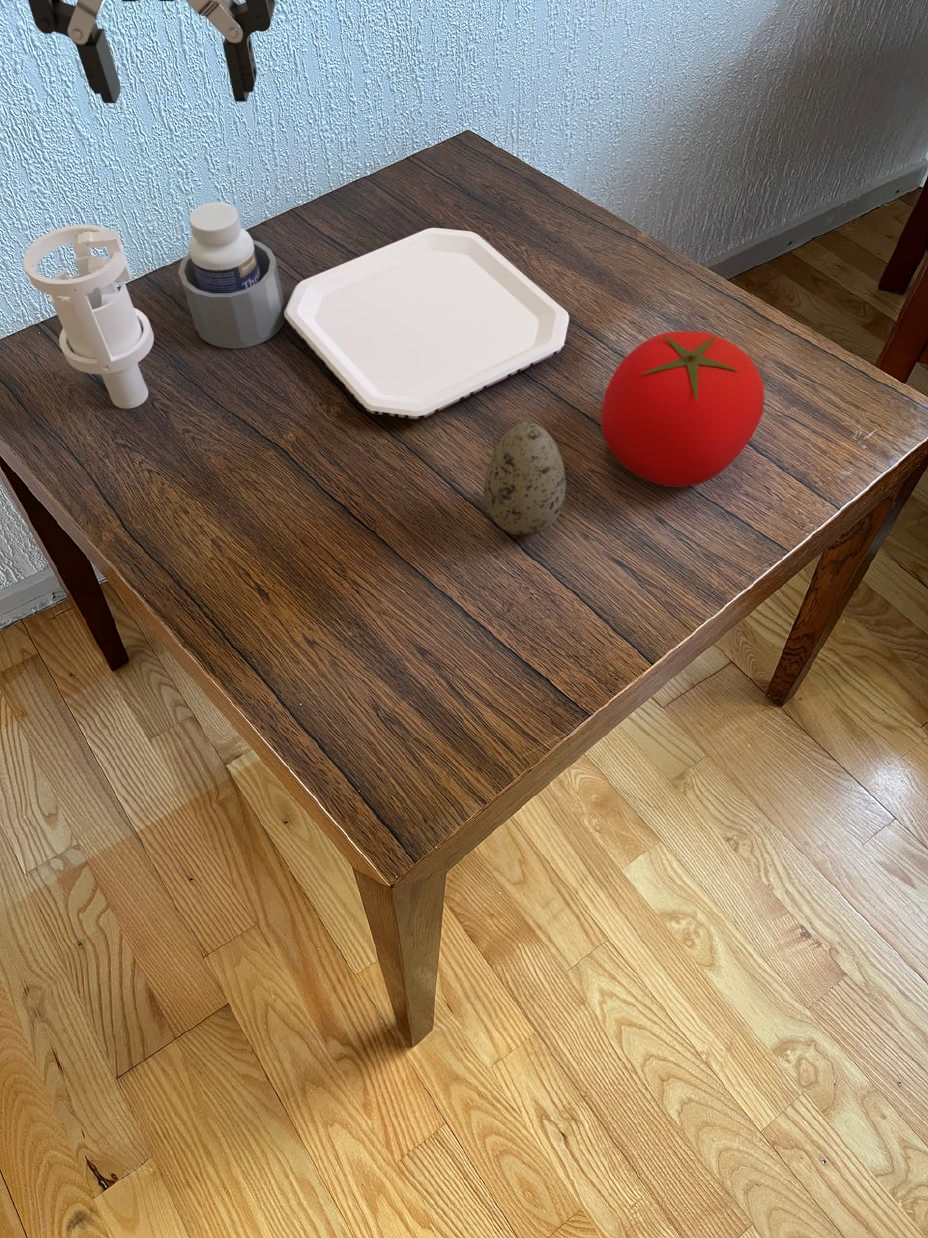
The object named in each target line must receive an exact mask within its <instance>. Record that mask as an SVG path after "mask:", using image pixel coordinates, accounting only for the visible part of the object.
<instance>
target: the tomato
mask: <svg viewBox="0 0 928 1238" xmlns="http://www.w3.org/2000/svg"><path fill="white" fill-rule="evenodd" d="M764 403H765V388H764V384H763V380H762V376H761V374H760V371H759V370H758V368H757V367H756V365H755V363H754V361H753V360H752V359H751V358H750V357H749V355H748V354H747V353H746V352H744V351H743V350H742V349H741V348H739V347H738V346H737V345H735V344H734V343H732V342H731V341H728V340H727V339H725V338H723V337H720V336H718V335H715V334H712V333H710V332H705V331H697V330H681V331H680V330H677V331H670V332H669V331H668V332H663V333H661V334H658V335H655V336H653V337H650V338H649V339H647V340H645V341H643V342H642V343H641V344H639V345H638V346H636V347H635V348H634V349H633V350H632V351H631V352H630V353H629V354H628V355H627V356H626V357H625V358H623V360H622V361H621V362H620V363H619V365H618V367H617V368H616V369H615V371H614V373H613V375H612V377H610V380H609V383H608V384H607V387H606V389H605V393H604V397H603V402H602V406H601V413H600V427H601V431H602V432H601V433H602V436H603V440H604V442H605V443H606V445H607V447H608V449H609V450H610V451H611V453H612V455H613V456H614V457H615V459H616V460H617V461H619V463H621V465H623V467H625V468H626V469H627V470H629V471H630V472H632V473H633V474H634V475H636V476H638V477H640V478H642V479H643V480H646V481H648V482H650V483H653V484H655V485H656V484H657V485H660V486H663V487H664V486H665V487H670V488H671V487H672V488H673V487H674V488H681V487H682V488H683V487H691V486H696V485H699V484H702V483H705V482H707V481H709V480H711V479H713V478H716V477H717V476H718V475H719V474H720V473H722V472H723V471H724V470H726V468H728V467H729V465H731V464H732V463H733V461H734V460H735V459H736V458H737V457H739V455H740V454H741V452H742V451H743V450H744V449H745V447H746V445H747V444H748V443H749V441H750V440H751V439H752V437H753V436H754V434H755V431H756V430H757V427H758V425H759V423H760V421H761V418H762V416H763V414H764Z"/></svg>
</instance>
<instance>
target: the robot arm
mask: <svg viewBox="0 0 928 1238" xmlns="http://www.w3.org/2000/svg"><path fill="white" fill-rule="evenodd" d="M105 1H106V0H77V1H76V5H74V4H71V3H68V2H65V1H64V0H27V3H28V5H29V8H30V12H31V15H32V18H33V22H34V25H35V27H36V28H37V29H38V30H39V31H40V32H41V33H43V34H46V35H50V34H53V33H57V34H60V35H63V36H65V37H68V38H69V39H70V40H71V41H72V42H73V43H74V45H75V47H76V50H77V54H78V56H79V60H80V62H81V65H82V68H83V71H84V75H85V78H86V81H87V84H88V86H89V88H90V90H91V91H92V92H93V93H94V94H95V95H99V94H100V97H101V98H100V99H101V101H102V102H103V104H116V103H117V102H118V99H119V97H120V95H121V92H122V91H121V90H122V87H121V82H120V78H119V75H118V72H117V68H116V65H115V61H114V58H113V55H112V52H111V48H110V45H109V41H108V39H107V35H106V31H105V29H104V28H99V26H98V19H99V16H100V14H101V11H102V8H103V7H104V3H105ZM138 1H139V0H121V2H125V3H126V2H128V3H129V2H133V3H134V2H135V3H136V2H138ZM157 1H158V2H175V0H157ZM185 2H186V3H187V4H188V5H189V6H190V7H191V9H193V10H194V12H195V13H197V15H199V16H201V17H205V18H206V19H207V20H208V21H209V22H210V23H211V24H212V26H214V28H215V29H216V30H217V31H218V32H219V33H220V34H221V36H223V37H224V39H223V43H222V46H223V51H224V57H225V60H226V65H227V66H226V67H227V71H228V75H229V81H230V85H231V90H232V95H233V99H234V102H236V103H245V102H246V103H247V102H248V99H249V95H250V93H253V92H254V90H255V85H256V83H257V82H256V81H257V76H258V69H257V65H256V59H255V54H254V47H253V43H252V36H251V35H252V34H254V33H256V32H260V33H261V32H262V33H263V32H267V31H268V30H269V29H270V27H271V25H272V24H271V23H272V21H273V16H274V13H275V8H276V0H245V2H241V1H240V0H185Z"/></svg>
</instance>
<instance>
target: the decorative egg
mask: <svg viewBox="0 0 928 1238" xmlns="http://www.w3.org/2000/svg"><path fill="white" fill-rule="evenodd" d="M566 493H567V477H566V470H565V466H564V462H563V459H562V456H561V453H560V450H559V448H558V446H557V443H556V442H555V440H554V439H553V437H552V436H551V434H550V433H548V431H547V430H546V429H545V428H543V427H542V426H541V425H539V424H536V423H533V422H522V423H519V424H517V425H514V426H513V427H512V428H511V429H509V430H508V431H507V432H506V433H505V434H504V435H503V436H502V438H501V439H500V440H499V442H498V443H497V445H496V447H495V448H494V451H493V453H492V455H491V457H490V459H489V462H488V465H487V469H486V473H485V476H484V485H483V495H484V501H485V506H486V509H487V511H488V514H489V516H490V518H491V519H492V520H493V521H494V523H495V524H496V525H497V526H498V527H499V528H500V529H502V530H504V531H505V532H507V533H509V534H510V535H514V536H520V537H528V536H534V535H537V534H540V533H541V532H543V531H545V530H547V529H548V528H549V527H550V526H552V525H553V524H554V523H555V521H556V520H557V519H558V517H559V515H560V514H561V512H562V510H563V507H564V504H565V501H566V495H567V494H566Z"/></svg>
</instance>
